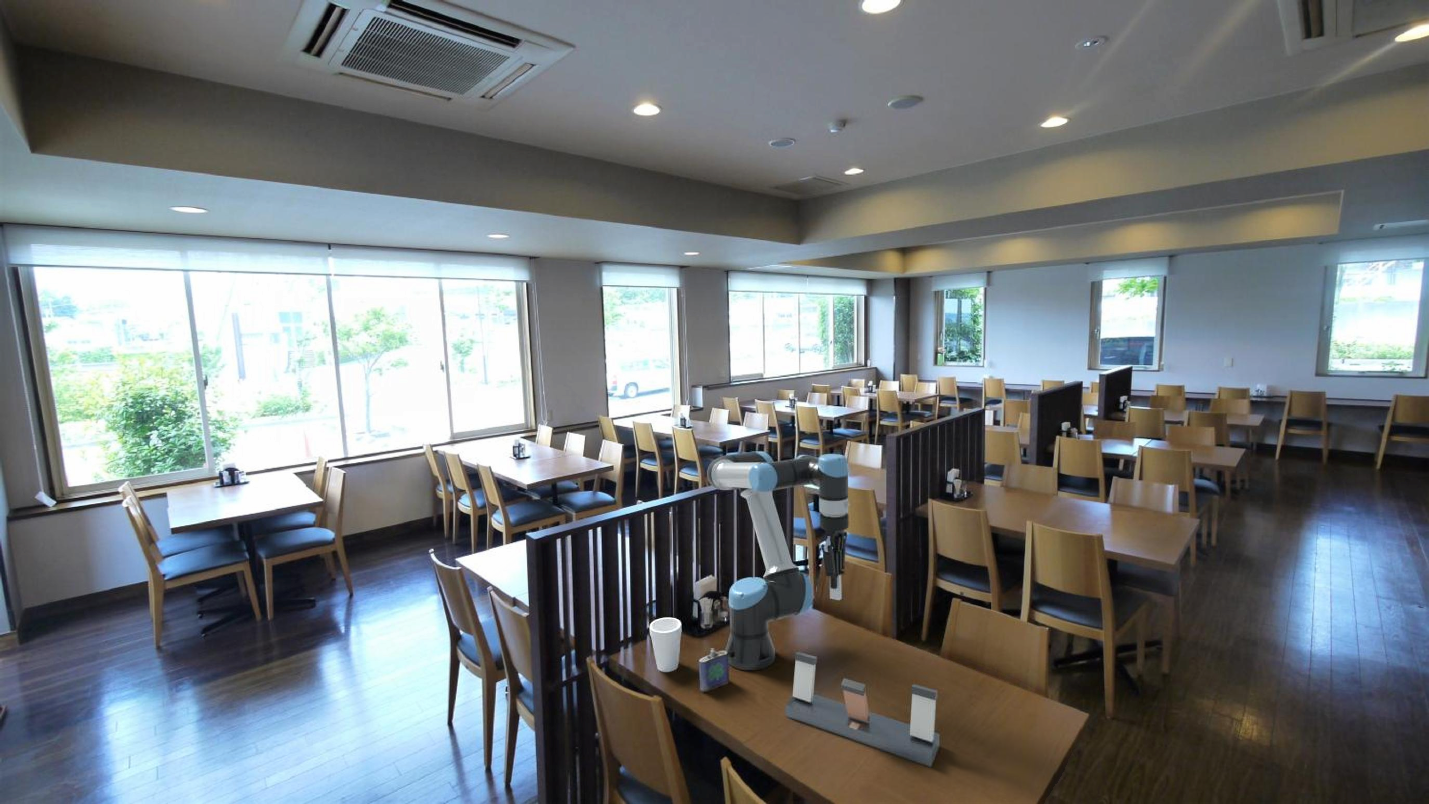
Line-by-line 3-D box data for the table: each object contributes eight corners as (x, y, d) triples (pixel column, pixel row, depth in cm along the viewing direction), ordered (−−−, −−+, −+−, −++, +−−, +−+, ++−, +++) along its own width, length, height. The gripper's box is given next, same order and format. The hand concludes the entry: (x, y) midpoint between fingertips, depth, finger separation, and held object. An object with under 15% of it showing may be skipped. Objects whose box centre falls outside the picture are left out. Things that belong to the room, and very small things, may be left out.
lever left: (794, 695, 155) (798, 651, 156) (813, 701, 152) (817, 657, 153) (791, 697, 153) (795, 653, 154) (810, 703, 150) (814, 658, 151)
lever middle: (849, 710, 147) (843, 678, 143) (870, 717, 144) (865, 684, 140) (846, 717, 145) (840, 684, 141) (868, 724, 142) (862, 691, 138)
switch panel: (799, 699, 158) (798, 688, 157) (939, 745, 138) (939, 733, 138) (785, 716, 151) (785, 704, 151) (931, 767, 131) (931, 753, 131)
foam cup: (678, 676, 171) (676, 633, 170) (648, 673, 173) (645, 631, 172) (686, 658, 181) (684, 618, 179) (657, 656, 182) (655, 616, 181)
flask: (702, 693, 162) (701, 656, 161) (697, 688, 165) (696, 652, 164) (731, 682, 167) (729, 646, 166) (725, 677, 170) (724, 642, 169)
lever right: (910, 732, 138) (913, 684, 140) (934, 740, 135) (937, 690, 137) (908, 735, 137) (911, 686, 138) (932, 743, 134) (935, 692, 135)
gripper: (838, 521, 149) (840, 611, 151) (856, 508, 159) (857, 591, 162) (810, 517, 153) (813, 604, 155) (830, 505, 164) (831, 586, 166)
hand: (835, 598), depth 158 cm, fingers closed
